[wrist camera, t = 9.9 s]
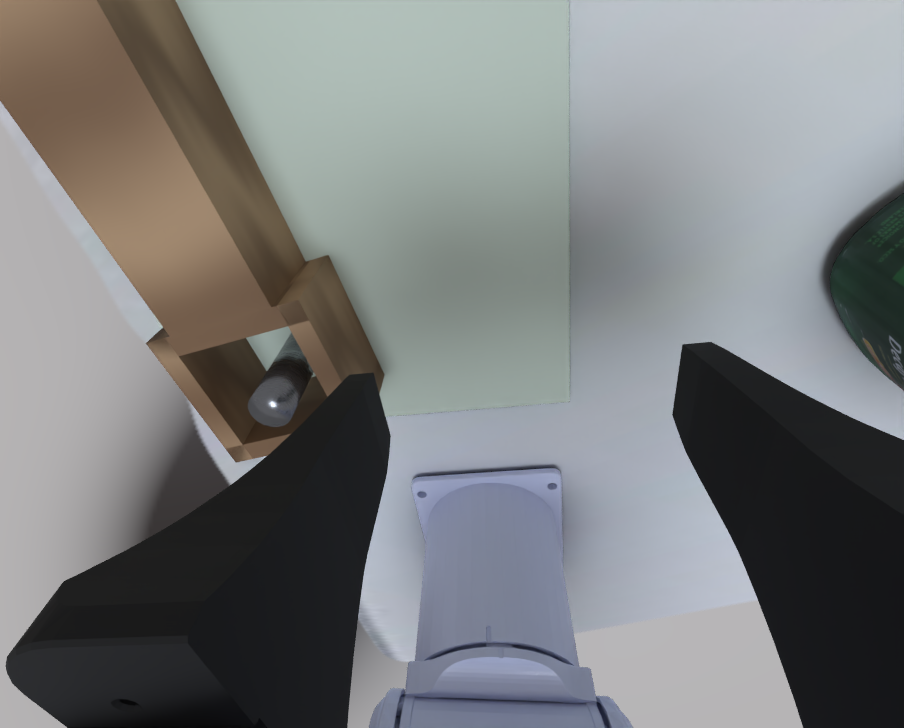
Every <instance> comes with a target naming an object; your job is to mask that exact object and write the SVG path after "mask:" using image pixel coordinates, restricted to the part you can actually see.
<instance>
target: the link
mask: <svg viewBox="0 0 904 728" xmlns="http://www.w3.org/2000/svg"><path fill="white" fill-rule="evenodd" d="M0 101H1V102H2V104H3V105H4V106H5V108H6V109H7V111H8V112H9V113H10V115H11V116H12V118H13V119H14V120H15V122H16V123H17V124H18V126H19V127H20V129H21V130H22V131H23V133H24V134H25V136H26V137H27V138H28V140H29V141H30V143H31V144H32V145H33V147H34V148H35V150H36V151H37V152H38V154H39V155H40V156H41V158H42V159H43V161H44V162H45V163H46V165H47V166H48V168H49V169H50V170H51V172H52V173H53V175H54V176H55V177H56V179H57V180H58V182H59V183H60V184H61V186H62V187H63V188H64V190H65V191H66V193H67V194H68V195H69V197H70V198H71V200H72V201H73V202H74V204H75V205H76V207H77V208H78V209H79V211H80V212H81V214H82V215H83V216H84V218H85V219H86V220H87V222H88V223H89V225H90V226H91V227H92V229H93V230H94V232H95V233H96V234H97V236H98V237H99V239H100V240H101V241H102V243H103V244H104V246H105V247H106V248H107V250H108V251H109V252H110V254H111V255H112V257H113V258H114V259H115V261H116V262H117V264H118V265H119V266H120V268H121V269H122V271H123V272H124V273H125V275H126V276H127V278H128V279H129V280H130V282H131V283H132V284H133V286H134V287H135V289H136V290H137V291H138V293H139V294H140V296H141V297H142V298H143V300H144V301H145V303H146V304H147V305H148V307H149V308H150V310H151V311H152V312H153V314H154V315H155V317H156V318H157V319H158V321H159V322H160V323H161V325H162V326H163V328H162V329H161V330H160V331H159V332H158V333H157V334H155V335H154V336H153V337H152V338H151V339H150V340H149V341H148V342H147V343H146V344H147V345H148V347H149V348H150V349H151V351H152V352H153V353H154V355H155V356H156V357H157V359H158V360H159V361H160V363H161V364H162V365H163V366H164V368H165V369H166V371H167V372H168V373H169V374H170V376H171V377H172V378H173V380H174V381H175V382H176V384H177V385H178V386H179V388H180V389H181V390H182V392H183V393H184V394H185V396H186V397H187V398H188V400H189V401H190V402H191V404H192V405H193V406H194V408H195V409H196V410H197V412H198V413H199V414H200V416H201V417H202V418H203V420H204V421H205V422H206V423H207V425H208V426H209V427H210V429H211V430H212V431H213V433H214V434H215V435H216V437H217V438H218V439H219V441H220V442H221V443H222V445H223V446H224V447H225V449H226V450H227V451H228V453H229V454H230V455H231V457H232V458H233V459H234V461H235V462H240V461H245V460H249V459H254V458H258V457H263V456H267V455H269V454H270V453H271V452H272V451H273V450H274V449H276V448H277V447H278V446H279V445H280V444H281V443H282V442H283V441H284V440H285V439H286V438H287V437H288V436H289V435H290V434H292V433H293V432H294V431H295V430H296V429H297V428H298V427H299V426H300V425H301V424H302V423H303V422H304V421H305V420H306V419H307V418H308V417H309V416H310V415H311V414H312V413H313V412H314V411H315V410H316V409H317V408H318V407H319V406H320V405H321V403H322V402H323V401H324V400H325V399H326V398H327V397H328V396H329V395H330V394H331V393H332V392H333V391H334V390H335V389H336V388H337V387H338V385H339V384H340V383H341V382H342V381H343V380H344V379H345V378H346V377H347V376H349V375H351V374H362V373H374V376H375V380H376V383H377V387H378V391H379V394H380V390H381V387H382V383H383V379H384V375H385V374H384V372H383V370H382V368H381V366H380V364H379V362H378V360H377V357H376V355H375V353H374V351H373V349H372V347H371V345H370V342H369V340H368V338H367V336H366V334H365V332H364V330H363V328H362V325H361V323H360V321H359V319H358V317H357V315H356V313H355V310H354V308H353V306H352V304H351V302H350V300H349V298H348V296H347V293H346V291H345V289H344V287H343V285H342V283H341V281H340V278H339V276H338V274H337V272H336V270H335V268H334V266H333V264H332V261H331V259H330V257H329V255H326V256H323V257H320V258H316V259H313V260H310V261H305V259H304V257H303V255H302V253H301V251H300V249H299V247H298V245H297V243H296V241H295V239H294V237H293V235H292V233H291V231H290V229H289V227H288V225H287V223H286V221H285V219H284V217H283V215H282V213H281V211H280V209H279V207H278V205H277V203H276V201H275V199H274V197H273V195H272V193H271V191H270V189H269V187H268V185H267V183H266V181H265V179H264V177H263V175H262V173H261V171H260V169H259V167H258V165H257V163H256V161H255V159H254V157H253V155H252V153H251V151H250V149H249V147H248V145H247V143H246V141H245V139H244V137H243V135H242V133H241V131H240V129H239V127H238V125H237V123H236V121H235V119H234V117H233V115H232V113H231V111H230V109H229V107H228V105H227V103H226V101H225V99H224V97H223V95H222V93H221V91H220V89H219V87H218V85H217V83H216V81H215V79H214V77H213V75H212V73H211V71H210V69H209V67H208V65H207V63H206V61H205V59H204V57H203V55H202V53H201V51H200V49H199V47H198V45H197V43H196V41H195V39H194V37H193V35H192V33H191V31H190V29H189V27H188V25H187V22H186V20H185V18H184V16H183V14H182V12H181V10H180V8H179V6H178V4H177V2H176V0H0ZM287 326H288V327H289V329H290V331H291V332H292V334H293V336H294V338H295V339H296V341H297V343H298V345H299V347H300V348H301V350H302V352H303V354H304V356H305V357H306V359H307V361H308V363H309V364H310V366H311V368H312V370H313V372H314V373H315V375H316V376H315V377H311V379H310V381H309V383H308V385H307V387H306V389H305V391H304V393H303V395H302V397H301V400H300V402H299V404H298V406H297V408H296V410H295V412H294V414H293V416H292V418H291V420H290V421H289V423H287V424H286V425H284V426H280V427H270V426H266V425H263V424H261V423H259V422H258V421H256V420H255V419H254V418H253V417H252V416H251V414H250V412H249V410H248V402H249V400H250V398H251V397H252V395H253V393H254V392H255V390H256V388H257V387H258V385H259V384H260V382H261V380H262V379H263V377H264V376H265V374H266V372H267V371H266V369H265V368H264V366H263V365H262V363H261V361H260V360H259V358H258V357H257V355H256V353H255V352H254V350H253V349H252V347H251V345H250V344H249V342H248V340H247V339H246V338H247V337H251V336H255V335H258V334H262V333H266V332H269V331H273V330H276V329H280V328H284V327H287Z"/></svg>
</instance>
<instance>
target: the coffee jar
mask: <svg viewBox="0 0 904 728" xmlns="http://www.w3.org/2000/svg"><path fill="white" fill-rule="evenodd" d="M830 290H831V294H832V298H833V300H834V303H835V305H836V308H837V311H838V313H839V316H840V318H841V320H842V322H843V323H844V325H845V327H846V329H847V331H848V333H849V334H850V336H851V337H852V339H853V340H854V342H855V343H856V345H857V346H858V347H859V349H860V350H861V351H862V353H863V354H864V355H865V356H866V357H867V358H868V359H869V361H870V362H871V363H872V364H873V365H875V366H876V367H877V368H878V369H879V370H880V371H881V372H882V373H883V374H884V375H885V376H887V377H888V378H889V379H890V380H891V381H893V382H894V383H895V384H896V385H898V386H899V387H900V388H901V389H902V390H904V193H903V194H902V195H900V196H899V197H898V198H897V199H895V200H894V201H892V202H891V203H889V204H888V205H886V206H885V207H884V208H883V209H881V210H880V211H879V212H877V213H876V214H875V215H874V216H873V217H872V218H871V219H870V220H869V221H868V222H867V223H866V224H865V225H864V226H863V227H862V228H860V229H859V230H858V231H857V232H856V233H855V234H854V235H853V237H852V238H851V239H850V240H849V241H848V243H847V244H846V245H845V247H844V248H843V250H842V252H841V253H840V255H839V256H838V258H837V260H836V262H835V263H834V266H833V269H832V272H831V278H830Z"/></svg>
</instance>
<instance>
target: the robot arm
mask: <svg viewBox="0 0 904 728" xmlns="http://www.w3.org/2000/svg"><path fill="white" fill-rule="evenodd" d="M672 415H673V418H674V421H675V423H676V426H677V429H678V432H679V435H680V438H681V440H682V443H683V446H684V448H685V451H686V453H687V455H688V457H689V459H690V461H691V463H692V465H693V467H694V468H695V470H696V472H697V474H698V476H699V478H700V480H701V482H702V484H703V485H704V487H705V489H706V491H707V493H708V495H709V496H710V498H711V500H712V502H713V504H714V506H715V508H716V509H717V511H718V513H719V515H720V517H721V519H722V521H723V522H724V524H725V526H726V528H727V530H728V532H729V534H730V535H731V538H732V540H733V542H734V544H735V546H736V548H737V550H738V552H739V554H740V556H741V559H742V561H743V564H744V566H745V569H746V571H747V574H748V576H749V579H750V581H751V583H752V586H753V588H754V591H755V593H756V596H757V598H758V601H759V604H760V606H761V609H762V611H763V614H764V617H765V619H766V622H767V625H768V627H769V630H770V632H771V635H772V638H773V640H774V643H775V646H776V649H777V652H778V654H779V657H780V660H781V663H782V666H783V668H784V672H785V674H786V677H787V680H788V683H789V686H790V689H791V692H792V694H793V697H794V700H795V703H796V706H797V709H798V712H799V716H800V719H801V722H802V725H803V728H904V440H902V439H900V438H897V437H895V436H893V435H890V434H888V433H886V432H883V431H881V430H878V429H876V428H874V427H871V426H869V425H867V424H864V423H862V422H860V421H858V420H856V419H853V418H851V417H849V416H847V415H845V414H843V413H841V412H839V411H837V410H835V409H833V408H831V407H829V406H827V405H825V404H823V403H821V402H819V401H817V400H815V399H813V398H811V397H809V396H807V395H805V394H803V393H801V392H799V391H798V390H796V389H794V388H792V387H790V386H788V385H787V384H785V383H783V382H781V381H779V380H778V379H776V378H774V377H772V376H771V375H769V374H767V373H765V372H764V371H762V370H760V369H758V368H757V367H755V366H753V365H752V364H750V363H748V362H746V361H745V360H743V359H741V358H740V357H738V356H736V355H734V354H733V353H731V352H729V351H727V350H725V349H724V348H722V347H720V346H718V345H716V344H714V343H712V342H706V343H695V344H684V345H682V352H681V359H680V366H679V373H678V380H677V387H676V394H675V401H674V408H673V414H672ZM390 437H391V436H390V432H389V428H388V425H387V421H386V417H385V413H384V410H383V406H382V402H381V398H380V395H379V391H378V387H377V383H376V380H375V376H374V373H362V374H351V375H349V376H347V377H346V378H345V379H344V380H343V381H342V382H341V383H340V384H339V385H338V387H337V388H336V389H335V390H334V391H333V392H332V393H331V394H330V395H329V396H328V397H327V398H326V399H325V400H324V401H323V402H322V403H321V405H320V406H319V407H318V408H317V409H316V410H315V411H314V412H313V413H312V414H311V415H310V416H309V417H308V418H307V419H306V420H305V421H304V422H303V423H302V424H301V425H300V426H299V427H298V428H297V429H296V430H295V431H294V432H293V433H292V434H290V435H289V436H288V437H287V438H286V439H285V440H284V441H283V442H282V443H281V444H280V445H279V446H278V447H277V448H276V449H274V450H273V451H272V452H271V453H270V454H269V455H268V456H267V457H265V458H264V459H263V460H262V461H261V462H260V463H258V464H257V465H256V466H255V467H254V468H252V469H251V470H250V471H248V472H247V473H246V474H245V475H243V476H242V477H241V478H239V479H238V480H237V481H236V482H234V483H233V484H232V485H230V486H229V487H228V488H226V489H225V490H223V491H222V492H220V493H219V494H217V495H216V496H215V497H213V498H212V499H210V500H209V501H207V502H206V503H204V504H203V505H201V506H200V507H198V508H197V509H195V510H194V511H192V512H191V513H189V514H188V515H186V516H185V517H183V518H181V519H180V520H178V521H177V522H175V523H173V524H172V525H170V526H168V527H167V528H165V529H163V530H162V531H160V532H158V533H156V534H155V535H153V536H151V537H149V538H148V539H146V540H144V541H142V542H141V543H139V544H137V545H135V546H133V547H131V548H130V549H128V550H126V551H124V552H122V553H120V554H118V555H116V556H114V557H112V558H110V559H108V560H106V561H104V562H102V563H100V564H98V565H96V566H94V567H92V568H90V569H88V570H86V571H85V572H82V573H80V574H78V575H77V576H74V577H72V578H70V579H68V580H66V581H64V582H63V583H62V584H61V586H60V587H59V589H58V590H57V591H56V593H55V594H54V595H53V596H52V598H51V599H50V600H49V602H48V603H47V604H46V606H45V607H44V608H43V610H42V611H41V612H40V614H39V615H38V616H37V618H36V619H35V620H34V622H33V623H32V624H31V626H30V627H29V629H28V630H27V631H26V632H25V634H24V635H23V636H22V638H21V639H20V640H19V642H18V643H17V644H16V646H15V647H14V648H13V650H12V651H11V652H10V654H9V655H8V656H7V661H6V670H7V674H8V675H9V677H10V679H11V681H12V683H13V684H14V685H15V686H16V687H17V688H18V689H19V690H20V691H21V692H22V693H23V694H24V695H26V696H27V697H28V698H29V699H31V700H32V701H33V702H35V703H36V704H37V705H39V706H40V707H41V708H43V709H44V710H45V711H47V712H48V713H49V714H51V715H52V716H53V717H54V718H56V719H57V720H58V721H60V722H61V723H62V724H64V725H65V726H66V727H67V728H347V723H348V709H349V698H350V687H351V677H352V667H353V656H354V647H355V638H356V630H357V621H358V612H359V605H360V597H361V590H362V582H363V575H364V569H365V564H366V559H367V554H368V550H369V545H370V541H371V537H372V533H373V529H374V525H375V521H376V517H377V513H378V508H379V504H380V500H381V496H382V492H383V487H384V483H385V479H386V474H387V468H388V459H389V448H390ZM550 483H554V484H550ZM411 488H412V492H413V496H414V500H415V504H416V508H417V512H418V516H419V520H420V523H421V527H422V531H423V535H424V539H425V543H426V550H425V560H424V571H423V581H422V592H421V602H420V613H419V623H418V634H417V644H416V655H415V661H410V662H409V663H408V671H407V680H406V689H405V690H404V689H401V688H392V689H390V690H389V691H388V692H387V694H386V696H385V697H384V698H383V699H382V700H381V702H380V703H379V704H378V705H377V706H376V707H375V709H374V711H373V714H372V717H371V721H370V725H369V728H633V726H632V725H631V723H630V721H629V720H628V718H627V717H626V716H625V715H624V714H623V713H622V712H621V710H620V709H619V707H618V706H617V704H616V703H615V702H614V701H613V700H612V699H611V698H610V697H607V696H596V695H595V690H594V684H593V679H592V674H591V669H590V668H587V667H579V663H578V657H577V651H576V645H575V639H574V633H573V627H572V621H571V615H570V609H569V603H568V597H567V591H566V585H565V579H564V573H563V538H562V478H561V474H560V471H559V470H557V469H555V468H545V469H530V470H515V471H500V472H485V473H470V474H455V475H440V476H425V477H417V478H415V479H413V481H412V486H411ZM420 491H424V492H420Z"/></svg>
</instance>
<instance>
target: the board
mask: <svg viewBox="0 0 904 728" xmlns="http://www.w3.org/2000/svg"><path fill="white" fill-rule="evenodd" d="M176 2H177V4H178V6H179V8H180V10H181V12H182V14H183V16H184V18H185V20H186V22H187V25H188V27H189V29H190V31H191V33H192V35H193V37H194V39H195V41H196V43H197V45H198V47H199V49H200V51H201V53H202V55H203V57H204V59H205V61H206V63H207V65H208V67H209V69H210V71H211V73H212V75H213V77H214V79H215V81H216V83H217V85H218V87H219V89H220V91H221V93H222V95H223V97H224V99H225V101H226V103H227V105H228V107H229V109H230V111H231V113H232V115H233V117H234V119H235V121H236V123H237V125H238V127H239V129H240V131H241V133H242V135H243V137H244V139H245V141H246V143H247V145H248V147H249V149H250V151H251V153H252V155H253V157H254V159H255V161H256V163H257V165H258V167H259V169H260V171H261V173H262V175H263V177H264V179H265V181H266V183H267V185H268V187H269V189H270V191H271V193H272V195H273V197H274V199H275V201H276V203H277V205H278V207H279V209H280V211H281V213H282V215H283V217H284V219H285V221H286V223H287V225H288V227H289V229H290V231H291V233H292V235H293V237H294V239H295V241H296V243H297V245H298V247H299V249H300V251H301V253H302V255H303V257H304V259H305V261H310V260H313V259H316V258H320V257H323V256H326V255H329V257H330V259H331V261H332V264H333V266H334V268H335V270H336V272H337V274H338V276H339V278H340V281H341V283H342V285H343V287H344V289H345V291H346V293H347V296H348V298H349V300H350V302H351V304H352V306H353V308H354V310H355V313H356V315H357V317H358V319H359V321H360V323H361V325H362V328H363V330H364V332H365V334H366V336H367V338H368V340H369V342H370V345H371V347H372V349H373V351H374V353H375V355H376V357H377V360H378V362H379V364H380V366H381V368H382V370H383V372H384V374H385V375H384V379H383V383H382V387H381V390H380V394H379V395H380V398H381V402H382V406H383V410H384V413H385V417H390V416H402V415H415V414H427V413H440V412H452V411H465V410H477V409H490V408H502V407H514V406H527V405H539V404H552V403H564V402H570V246H569V0H176ZM152 313H153V312H152ZM154 316H155V315H154ZM155 318H156V317H155ZM156 320H157V322H158V324H159V326H160V328H161V329H162V328H163V326H162V325H161V323H160V322H159V321H158V319H157V318H156ZM290 334H291V331H290V329H289V327H288V326H287V327H284V328H280V329H276V330H273V331H269V332H266V333H262V334H258V335H255V336H251V337H247V338H246V339H247V340H248V342H249V344H250V345H251V347H252V349H253V350H254V352H255V353H256V355H257V357H258V358H259V360H260V361H261V363H262V365H263V366H264V368H265V369H266V371H268V369H269V368H270V366H271V364H272V363H273V361H274V359H275V358H276V356H277V355H278V353H279V351H280V350H281V348H282V347H283V345H284V343H285V342H286V340H287V339H288V337H289V335H290ZM315 376H316V375H315V373H314V372H313V375H312V377H315Z"/></svg>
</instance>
